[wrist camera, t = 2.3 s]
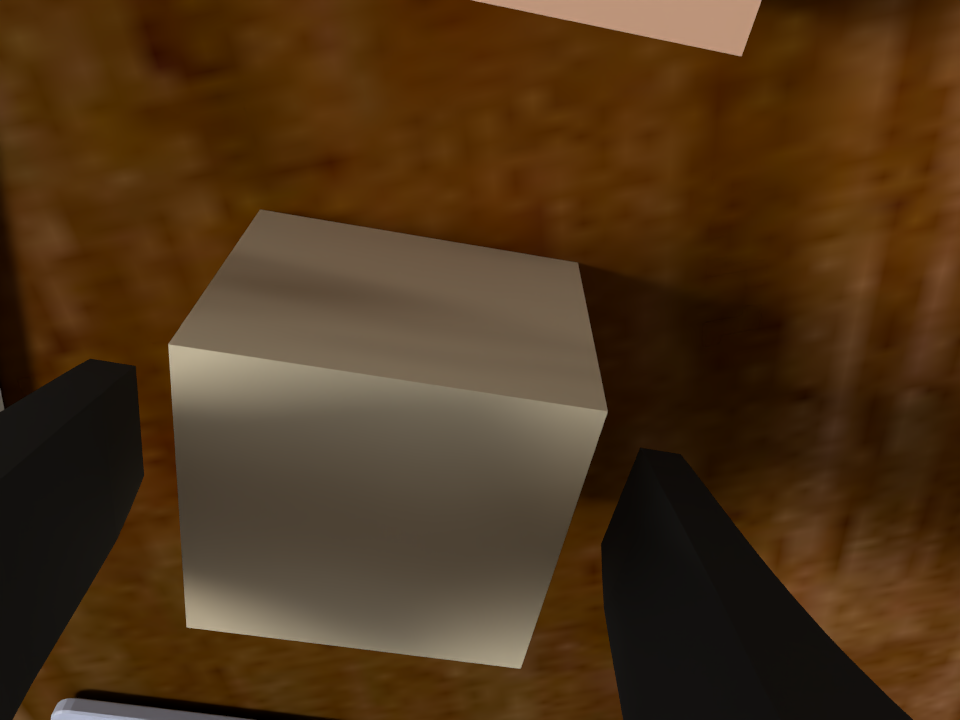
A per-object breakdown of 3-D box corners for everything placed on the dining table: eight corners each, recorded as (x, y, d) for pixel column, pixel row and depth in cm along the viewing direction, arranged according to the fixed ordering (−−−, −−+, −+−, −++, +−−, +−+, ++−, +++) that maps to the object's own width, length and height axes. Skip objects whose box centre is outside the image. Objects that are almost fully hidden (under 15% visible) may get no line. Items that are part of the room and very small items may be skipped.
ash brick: (515, 486, 15) (520, 668, 11) (258, 449, 14) (186, 626, 11) (576, 259, 12) (607, 411, 9) (263, 206, 12) (167, 343, 8)
